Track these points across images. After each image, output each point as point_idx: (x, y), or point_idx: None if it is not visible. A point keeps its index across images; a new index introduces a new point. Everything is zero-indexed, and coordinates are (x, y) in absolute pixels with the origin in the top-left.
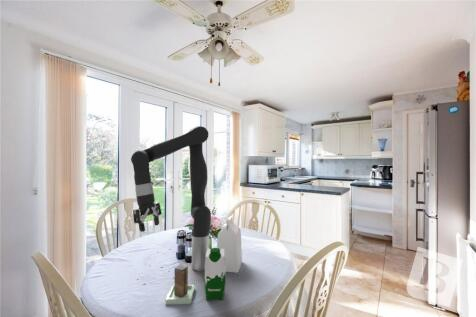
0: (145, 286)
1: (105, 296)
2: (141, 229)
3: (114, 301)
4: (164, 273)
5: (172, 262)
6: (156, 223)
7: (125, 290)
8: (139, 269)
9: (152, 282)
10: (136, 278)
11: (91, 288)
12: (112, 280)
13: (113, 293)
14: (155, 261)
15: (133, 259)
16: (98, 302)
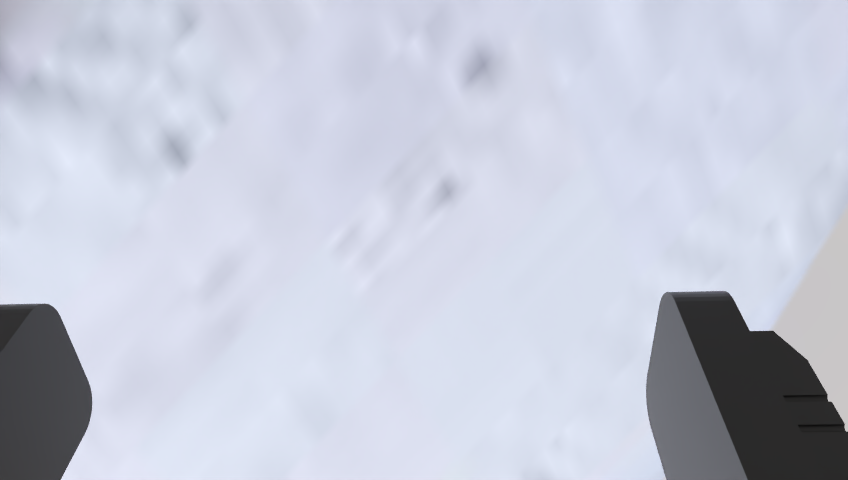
0: (512, 23)
1: (758, 220)
2: (811, 376)
3: (797, 91)
4: (246, 30)
5: (47, 120)
6: (39, 385)
7: (632, 143)
8: (323, 305)
9: (429, 14)
10: (445, 210)
11: None
12: (555, 360)
13: (703, 198)
14: (141, 287)
15: (233, 471)
16: (842, 200)
